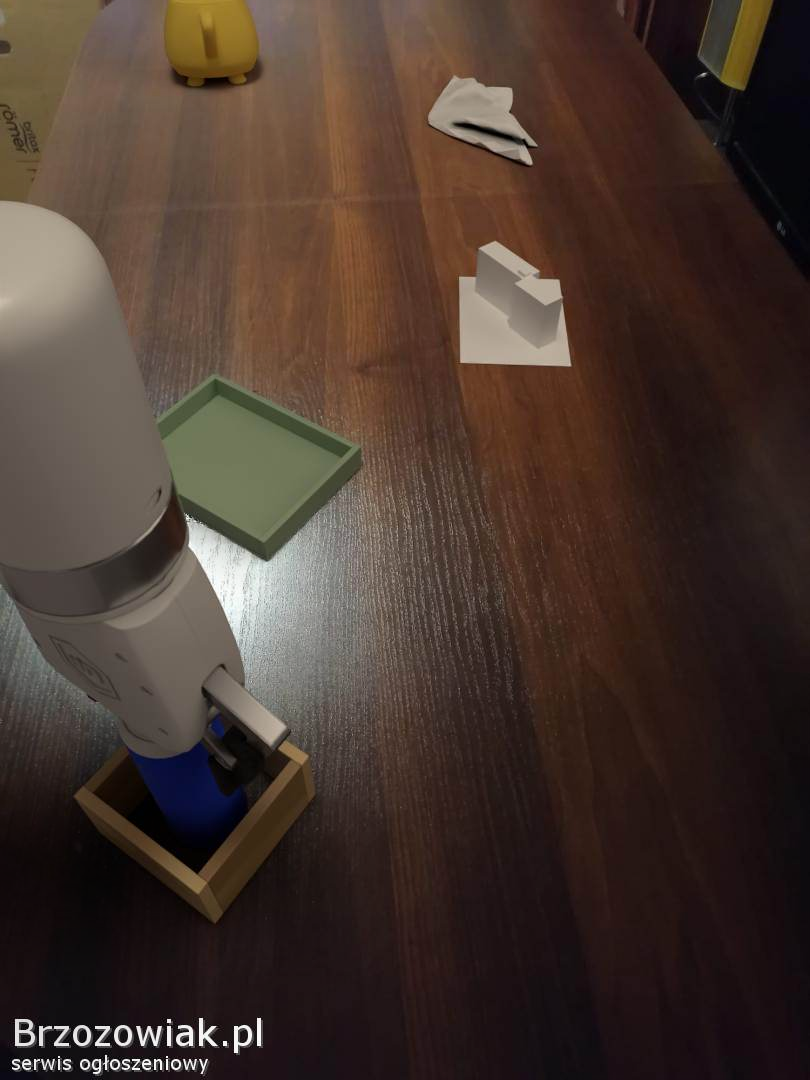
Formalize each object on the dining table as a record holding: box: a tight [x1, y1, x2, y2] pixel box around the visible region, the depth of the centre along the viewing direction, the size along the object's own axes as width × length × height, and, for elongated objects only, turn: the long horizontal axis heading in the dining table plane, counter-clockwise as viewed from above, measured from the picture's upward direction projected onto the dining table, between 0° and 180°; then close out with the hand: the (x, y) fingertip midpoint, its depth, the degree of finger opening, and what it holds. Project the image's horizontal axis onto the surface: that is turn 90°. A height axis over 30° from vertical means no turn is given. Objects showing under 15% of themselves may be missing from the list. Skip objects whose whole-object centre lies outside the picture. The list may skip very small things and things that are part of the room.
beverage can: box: [117, 699, 248, 849], centre depth 51 cm, size 5×5×15 cm
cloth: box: [427, 74, 539, 167], centre depth 118 cm, size 26×14×2 cm, turn 6°
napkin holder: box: [458, 240, 572, 367], centre depth 89 cm, size 15×11×6 cm
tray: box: [155, 372, 363, 562], centre depth 76 cm, size 17×13×2 cm
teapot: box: [163, 0, 260, 87], centre depth 123 cm, size 13×20×12 cm
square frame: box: [73, 713, 316, 925], centre depth 55 cm, size 10×10×6 cm
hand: (177, 725), depth 47 cm, fingers open, 9 cm apart
